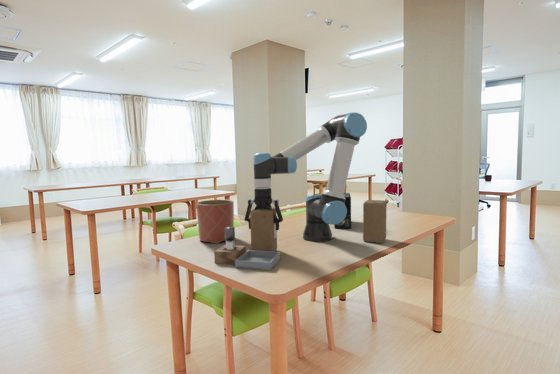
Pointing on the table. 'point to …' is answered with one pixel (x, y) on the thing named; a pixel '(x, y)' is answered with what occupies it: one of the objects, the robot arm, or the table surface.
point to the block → (374, 221)
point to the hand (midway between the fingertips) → (264, 236)
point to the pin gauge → (230, 237)
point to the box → (347, 221)
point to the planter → (214, 219)
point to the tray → (258, 260)
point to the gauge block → (228, 254)
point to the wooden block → (263, 230)
